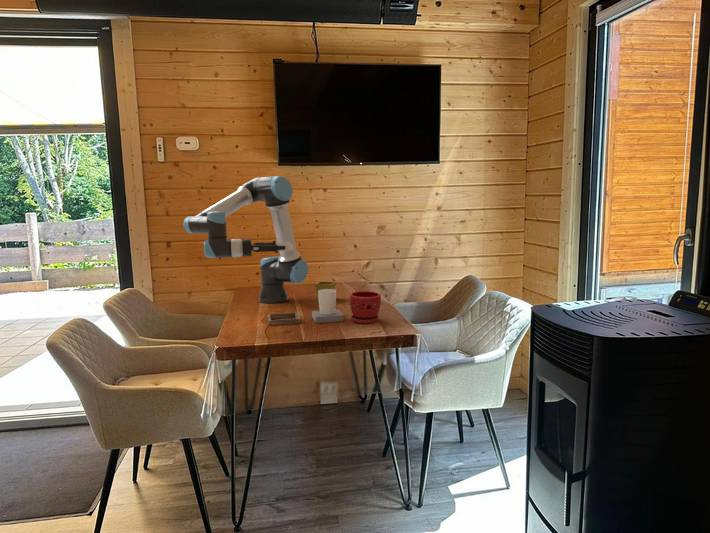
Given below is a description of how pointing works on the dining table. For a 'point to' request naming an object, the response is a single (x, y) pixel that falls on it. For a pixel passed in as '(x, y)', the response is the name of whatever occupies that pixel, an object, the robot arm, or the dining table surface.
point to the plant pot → (365, 306)
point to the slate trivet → (327, 317)
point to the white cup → (327, 301)
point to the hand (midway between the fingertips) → (291, 245)
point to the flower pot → (325, 285)
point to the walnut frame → (283, 321)
